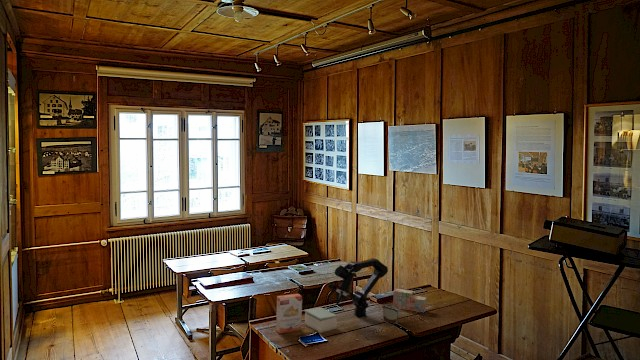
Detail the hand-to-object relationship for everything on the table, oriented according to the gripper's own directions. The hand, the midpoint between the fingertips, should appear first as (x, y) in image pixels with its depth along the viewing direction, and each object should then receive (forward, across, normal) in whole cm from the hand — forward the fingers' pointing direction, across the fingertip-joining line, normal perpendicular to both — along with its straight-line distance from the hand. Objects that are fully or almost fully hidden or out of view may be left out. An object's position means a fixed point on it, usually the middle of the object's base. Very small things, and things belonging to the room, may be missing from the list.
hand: (337, 304), depth 282 cm
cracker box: (+26, +16, +16) cm, 34 cm away
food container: (-5, -33, -16) cm, 37 cm away
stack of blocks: (-17, -38, -40) cm, 57 cm away
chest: (+16, +3, +4) cm, 17 cm away
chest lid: (+9, +5, +8) cm, 13 cm away
